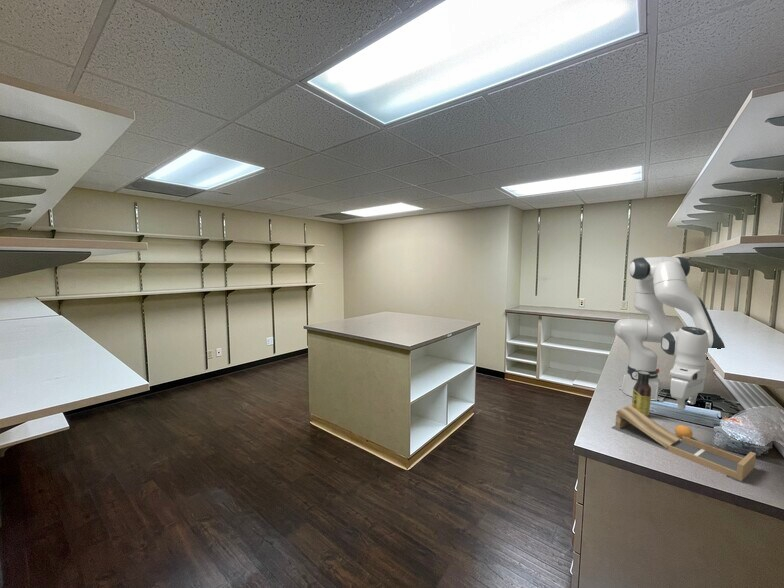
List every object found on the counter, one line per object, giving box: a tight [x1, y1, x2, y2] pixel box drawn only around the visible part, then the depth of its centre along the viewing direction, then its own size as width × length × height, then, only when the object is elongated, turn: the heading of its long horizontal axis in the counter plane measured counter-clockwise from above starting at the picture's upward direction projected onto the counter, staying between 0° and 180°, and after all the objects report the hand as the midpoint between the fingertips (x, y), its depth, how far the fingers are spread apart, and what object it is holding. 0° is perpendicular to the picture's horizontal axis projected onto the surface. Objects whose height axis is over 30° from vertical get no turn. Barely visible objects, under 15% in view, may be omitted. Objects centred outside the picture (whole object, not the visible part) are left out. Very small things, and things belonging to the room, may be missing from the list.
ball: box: [674, 424, 693, 439], centre depth 122 cm, size 5×5×5 cm
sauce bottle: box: [631, 371, 652, 418], centre depth 140 cm, size 6×6×20 cm
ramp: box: [614, 404, 681, 448], centre depth 124 cm, size 10×18×7 cm, turn 30°
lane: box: [610, 424, 757, 484], centre depth 116 cm, size 13×37×5 cm, turn 30°
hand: (686, 406), depth 121 cm, fingers open, 8 cm apart
